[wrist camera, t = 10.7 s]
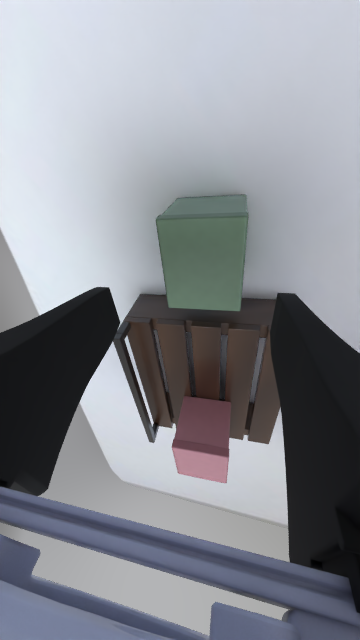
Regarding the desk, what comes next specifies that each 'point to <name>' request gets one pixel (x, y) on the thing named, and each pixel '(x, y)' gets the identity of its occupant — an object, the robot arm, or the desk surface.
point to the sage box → (204, 251)
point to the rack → (201, 362)
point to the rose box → (203, 439)
